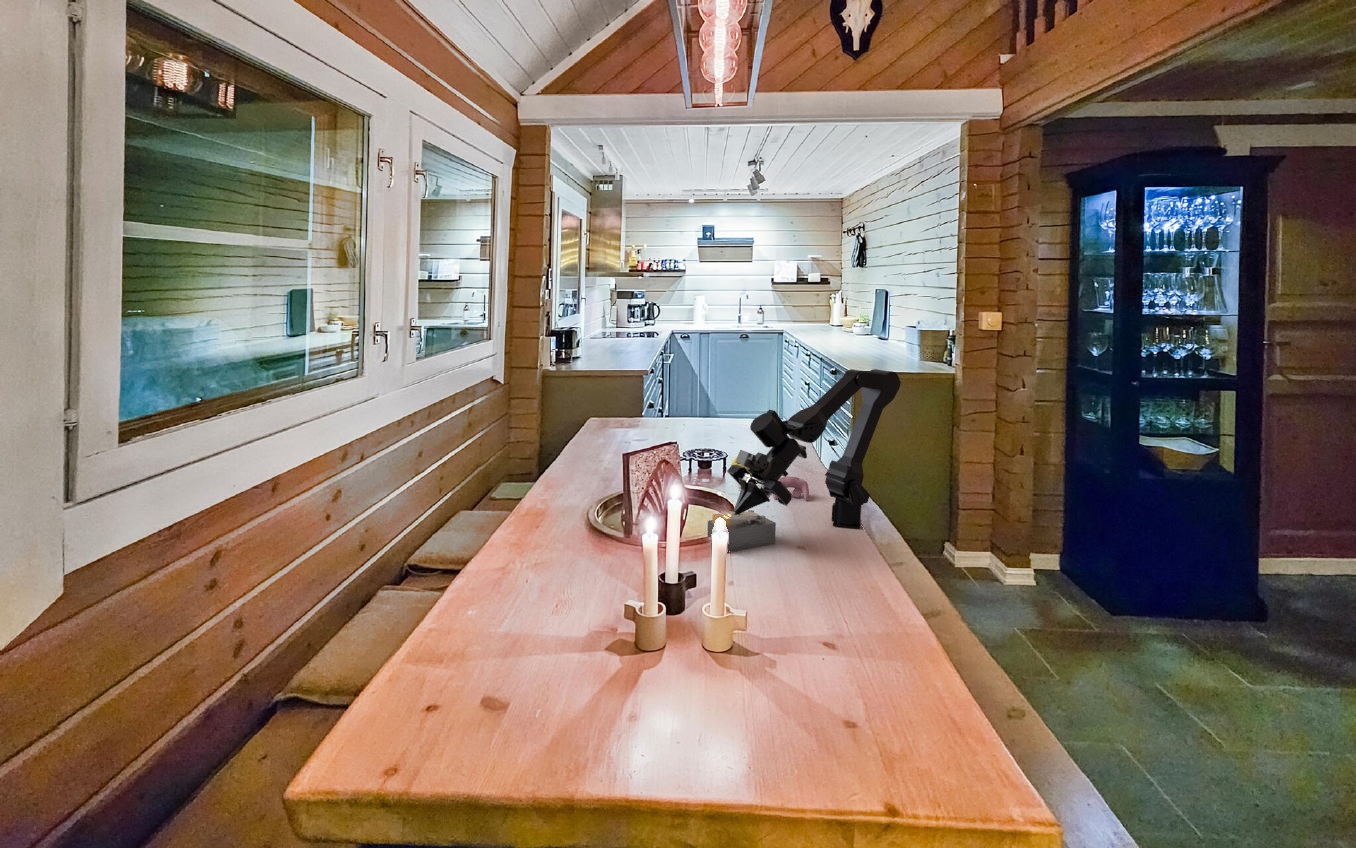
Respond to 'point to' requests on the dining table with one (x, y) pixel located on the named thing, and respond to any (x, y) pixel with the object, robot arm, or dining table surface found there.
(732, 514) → the light grey flat bar
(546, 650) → the dining table surface
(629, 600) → the dining table surface
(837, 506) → the robot arm
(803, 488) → the pink curved piece
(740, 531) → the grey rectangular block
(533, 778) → the dining table surface
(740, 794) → the dining table surface
